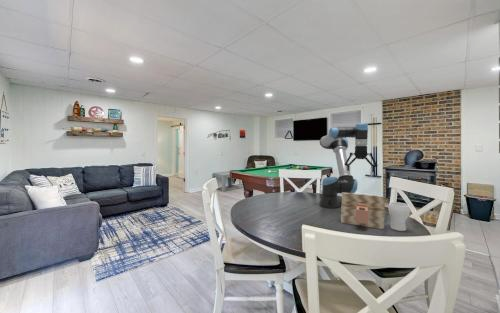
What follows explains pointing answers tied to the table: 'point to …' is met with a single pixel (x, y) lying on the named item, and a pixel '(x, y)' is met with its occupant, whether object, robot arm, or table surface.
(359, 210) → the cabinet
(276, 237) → the table surface
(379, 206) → the wallboard
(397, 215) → the cup
